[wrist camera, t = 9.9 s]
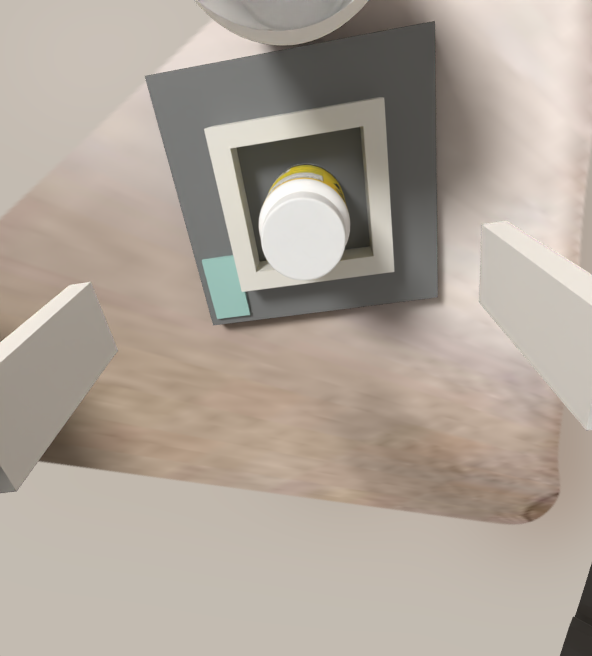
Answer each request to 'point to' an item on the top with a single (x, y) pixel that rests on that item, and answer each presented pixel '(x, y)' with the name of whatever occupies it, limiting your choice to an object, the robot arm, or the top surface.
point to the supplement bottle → (304, 222)
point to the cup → (281, 18)
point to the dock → (308, 148)
